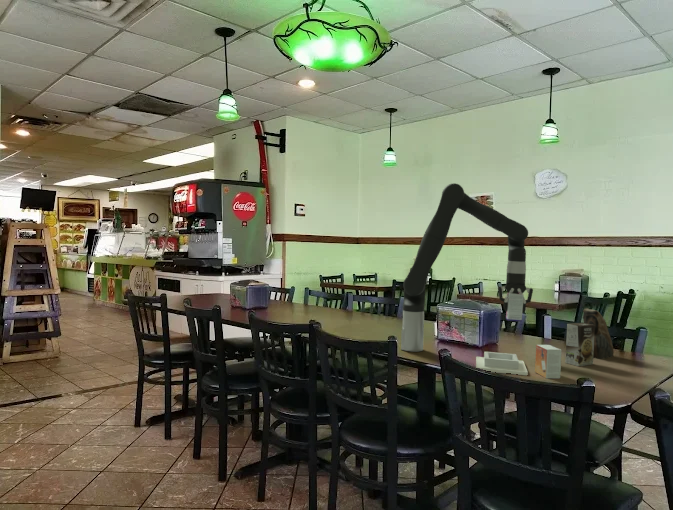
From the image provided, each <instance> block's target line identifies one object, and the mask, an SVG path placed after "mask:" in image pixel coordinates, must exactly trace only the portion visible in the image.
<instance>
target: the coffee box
mask: <svg viewBox="0 0 673 510" xmlns="http://www.w3.org/2000/svg"><path fill="white" fill-rule="evenodd" d="M566 325H567V326H566V342H565V344H566V345H565V364H569V365H573V366H576V367H582V366H583V367H584V366H590V365H594V358H593V353H594V330H595V325H593V324H586V323H584V322H572V323H567V324H566Z"/></svg>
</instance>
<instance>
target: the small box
mask: <svg viewBox="0 0 673 510" xmlns="http://www.w3.org/2000/svg"><path fill="white" fill-rule="evenodd" d="M535 346H536V347H535V361H534V363H535V364H534V365H535V366H534V373H537V374H538V375H540V376H542V378H544V379H561V371H562V369H561V368H562V367H561V366H562V351H563V350H562V349H561V348H558V347H555V346H554V345H551V344H536V345H535Z"/></svg>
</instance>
